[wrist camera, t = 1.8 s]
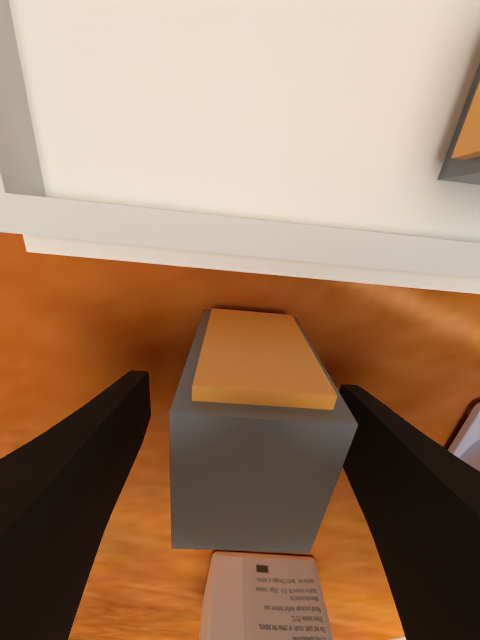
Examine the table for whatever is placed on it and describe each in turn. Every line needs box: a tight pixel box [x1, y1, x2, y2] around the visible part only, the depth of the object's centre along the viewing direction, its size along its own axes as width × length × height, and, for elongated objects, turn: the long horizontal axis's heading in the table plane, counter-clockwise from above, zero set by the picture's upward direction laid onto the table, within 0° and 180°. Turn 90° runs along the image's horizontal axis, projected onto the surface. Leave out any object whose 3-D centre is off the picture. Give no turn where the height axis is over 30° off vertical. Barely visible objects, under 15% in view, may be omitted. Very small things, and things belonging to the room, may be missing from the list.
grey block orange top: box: [169, 308, 358, 553], centre depth 9 cm, size 4×5×6 cm
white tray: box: [0, 0, 480, 294], centre depth 7 cm, size 11×20×2 cm, turn 84°
